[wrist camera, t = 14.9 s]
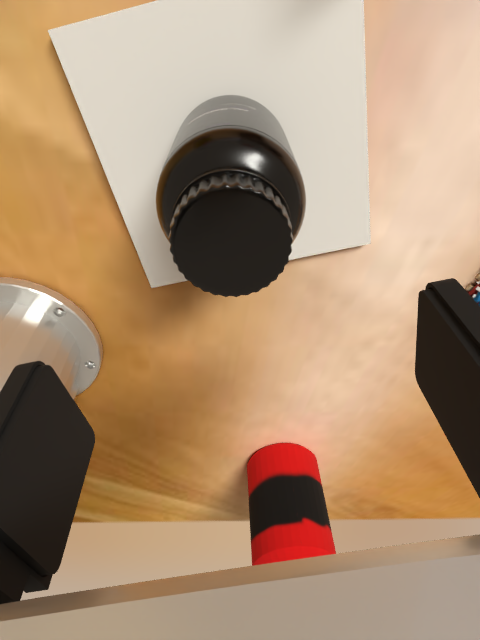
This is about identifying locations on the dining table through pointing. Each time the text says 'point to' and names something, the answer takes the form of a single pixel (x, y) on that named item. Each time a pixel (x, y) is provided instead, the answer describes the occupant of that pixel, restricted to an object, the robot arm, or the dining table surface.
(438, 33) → the dining table surface
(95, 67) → the white square board
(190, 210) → the supplement bottle
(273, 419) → the dining table surface
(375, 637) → the robot arm
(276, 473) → the soda can
